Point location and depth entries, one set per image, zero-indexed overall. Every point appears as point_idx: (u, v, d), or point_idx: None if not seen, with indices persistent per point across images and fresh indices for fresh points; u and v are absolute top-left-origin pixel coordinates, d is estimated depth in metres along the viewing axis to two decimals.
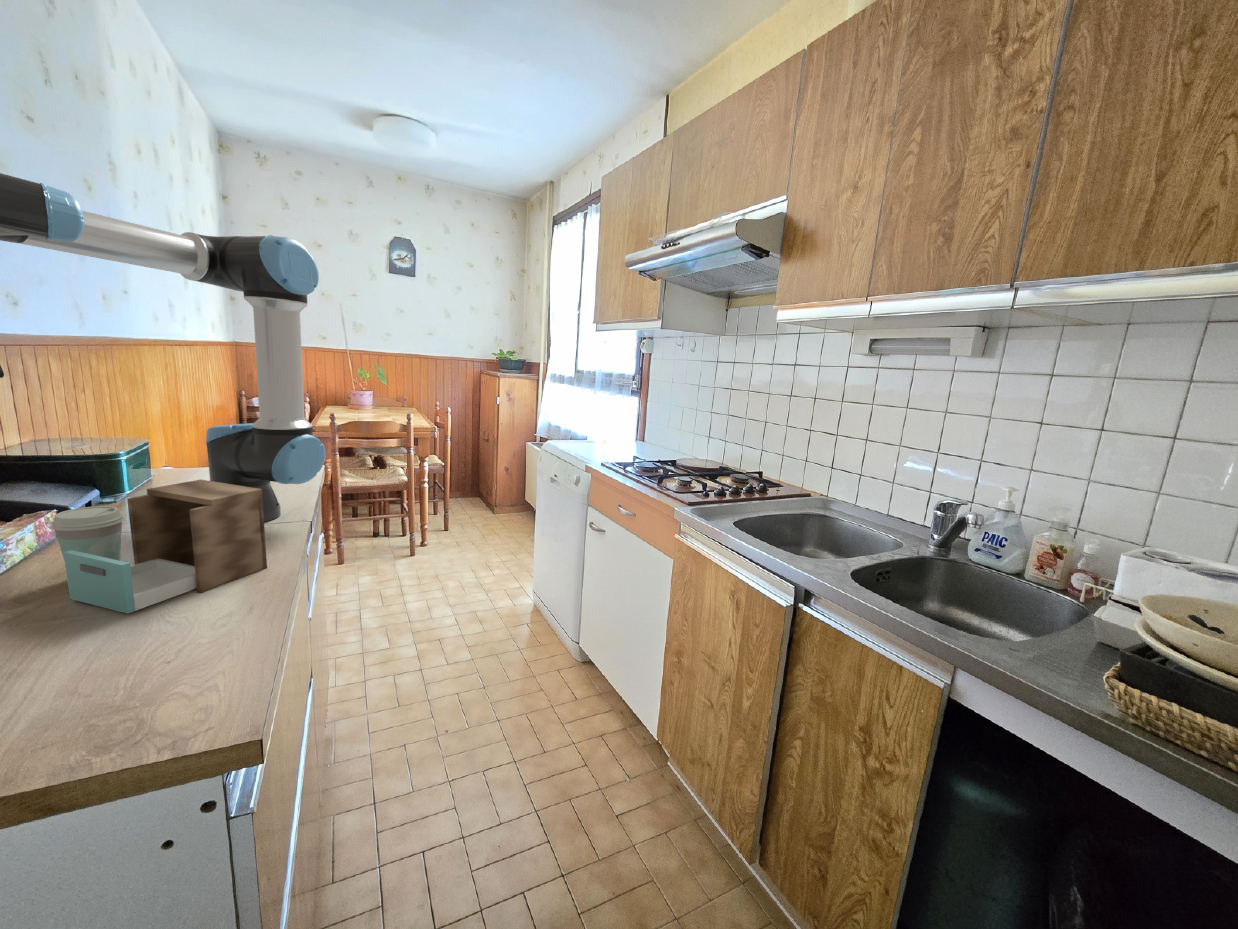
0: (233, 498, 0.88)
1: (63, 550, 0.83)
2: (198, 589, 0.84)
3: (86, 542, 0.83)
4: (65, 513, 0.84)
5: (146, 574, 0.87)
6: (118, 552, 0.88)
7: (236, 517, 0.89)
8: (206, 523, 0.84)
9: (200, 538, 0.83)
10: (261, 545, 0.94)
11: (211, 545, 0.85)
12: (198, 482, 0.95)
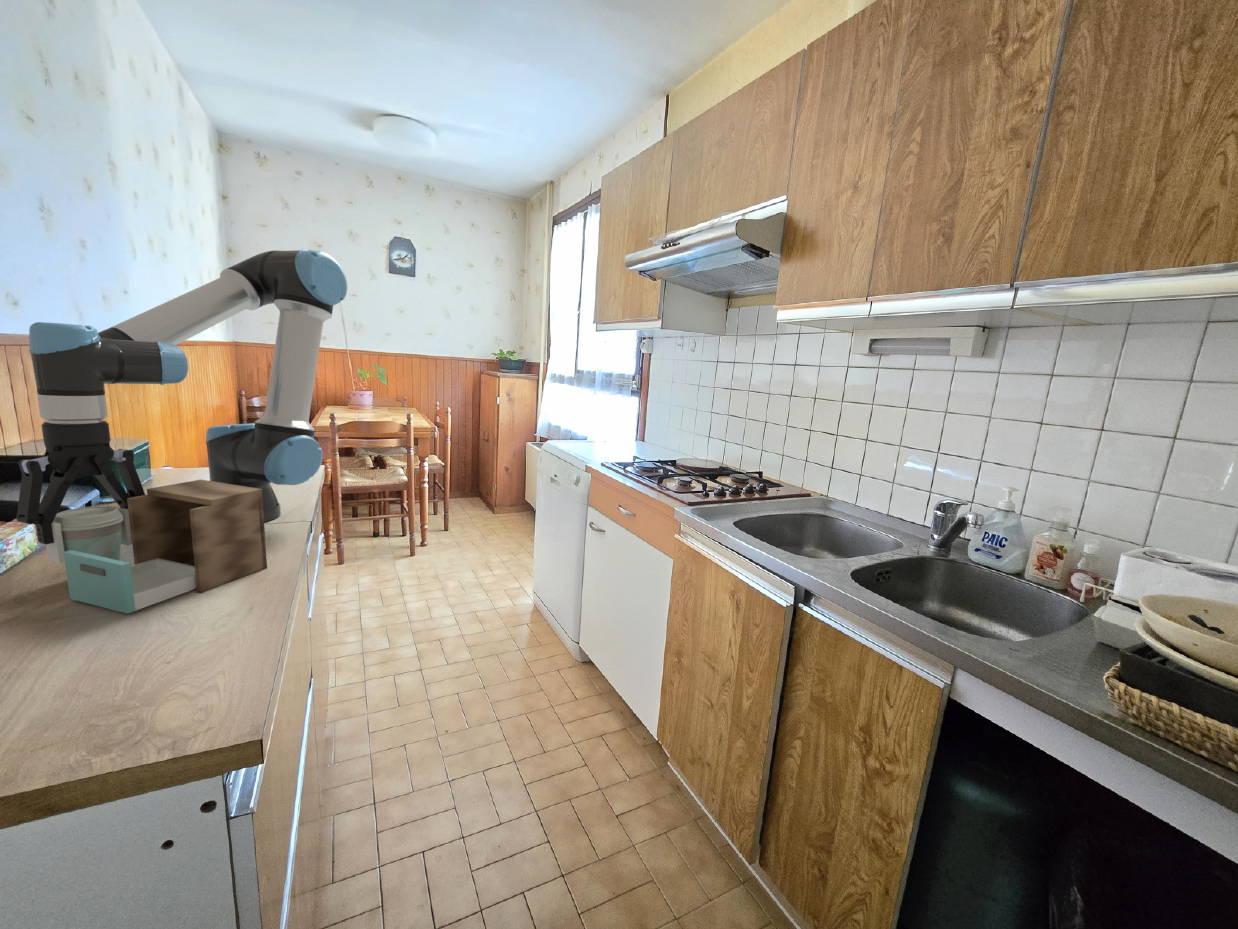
0: (233, 498, 0.88)
1: None
2: (198, 589, 0.84)
3: (86, 542, 0.83)
4: (65, 513, 0.84)
5: (146, 574, 0.87)
6: (118, 552, 0.88)
7: (236, 517, 0.89)
8: (206, 523, 0.84)
9: (200, 538, 0.83)
10: (261, 545, 0.94)
11: (211, 545, 0.85)
12: (198, 482, 0.95)
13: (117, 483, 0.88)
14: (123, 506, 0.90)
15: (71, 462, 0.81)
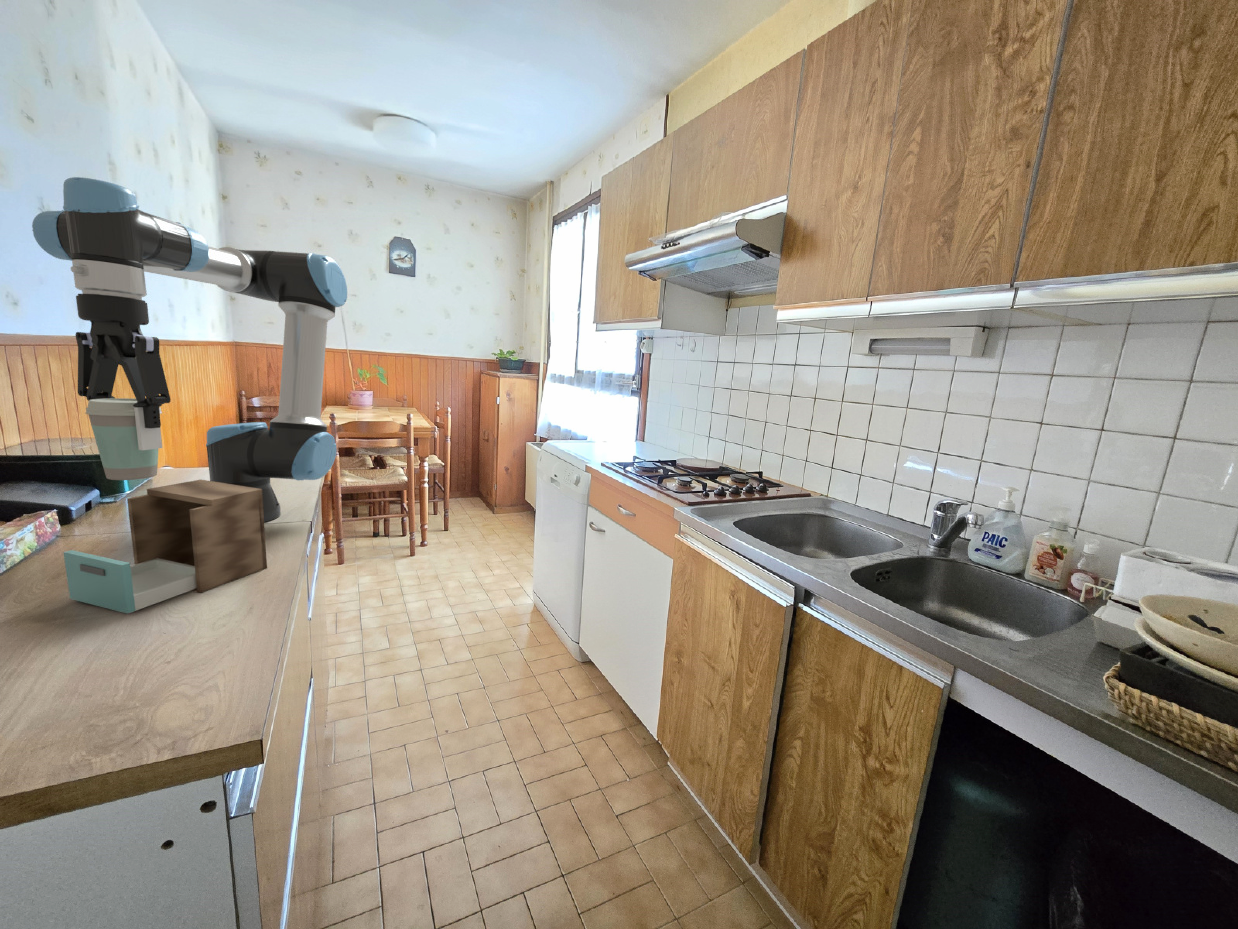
0: (233, 498, 0.88)
1: None
2: (198, 589, 0.84)
3: None
4: None
5: (146, 574, 0.87)
6: None
7: (236, 517, 0.89)
8: (206, 523, 0.84)
9: (200, 538, 0.83)
10: (261, 545, 0.94)
11: (211, 545, 0.85)
12: (198, 482, 0.95)
13: None
14: None
15: None
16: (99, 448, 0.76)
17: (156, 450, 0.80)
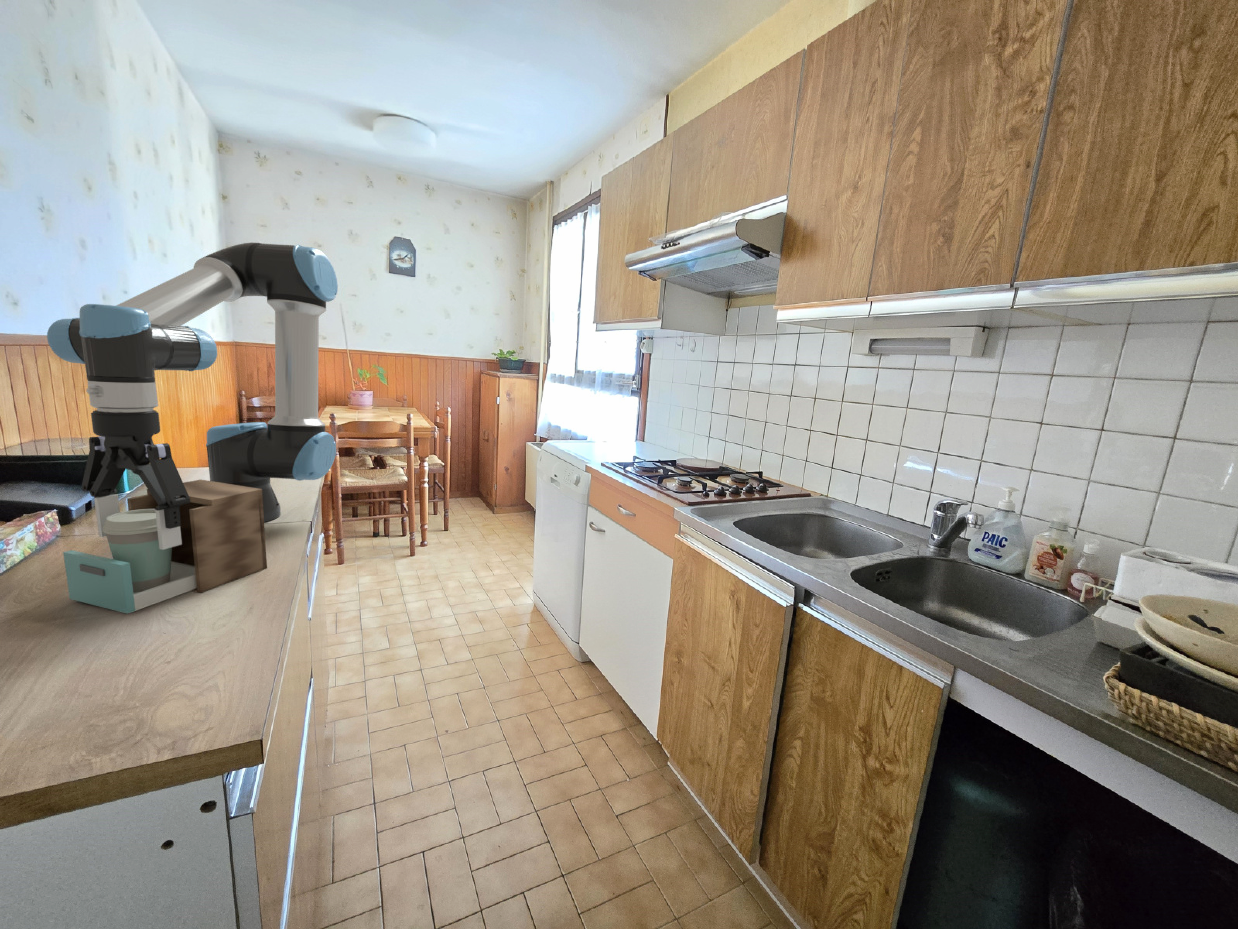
0: (233, 498, 0.88)
1: (157, 552, 0.81)
2: (198, 589, 0.84)
3: None
4: None
5: None
6: None
7: (236, 517, 0.89)
8: (206, 523, 0.84)
9: (200, 538, 0.83)
10: (261, 545, 0.94)
11: (211, 545, 0.85)
12: (198, 482, 0.95)
13: None
14: (105, 494, 0.82)
15: None
16: None
17: (169, 559, 0.83)
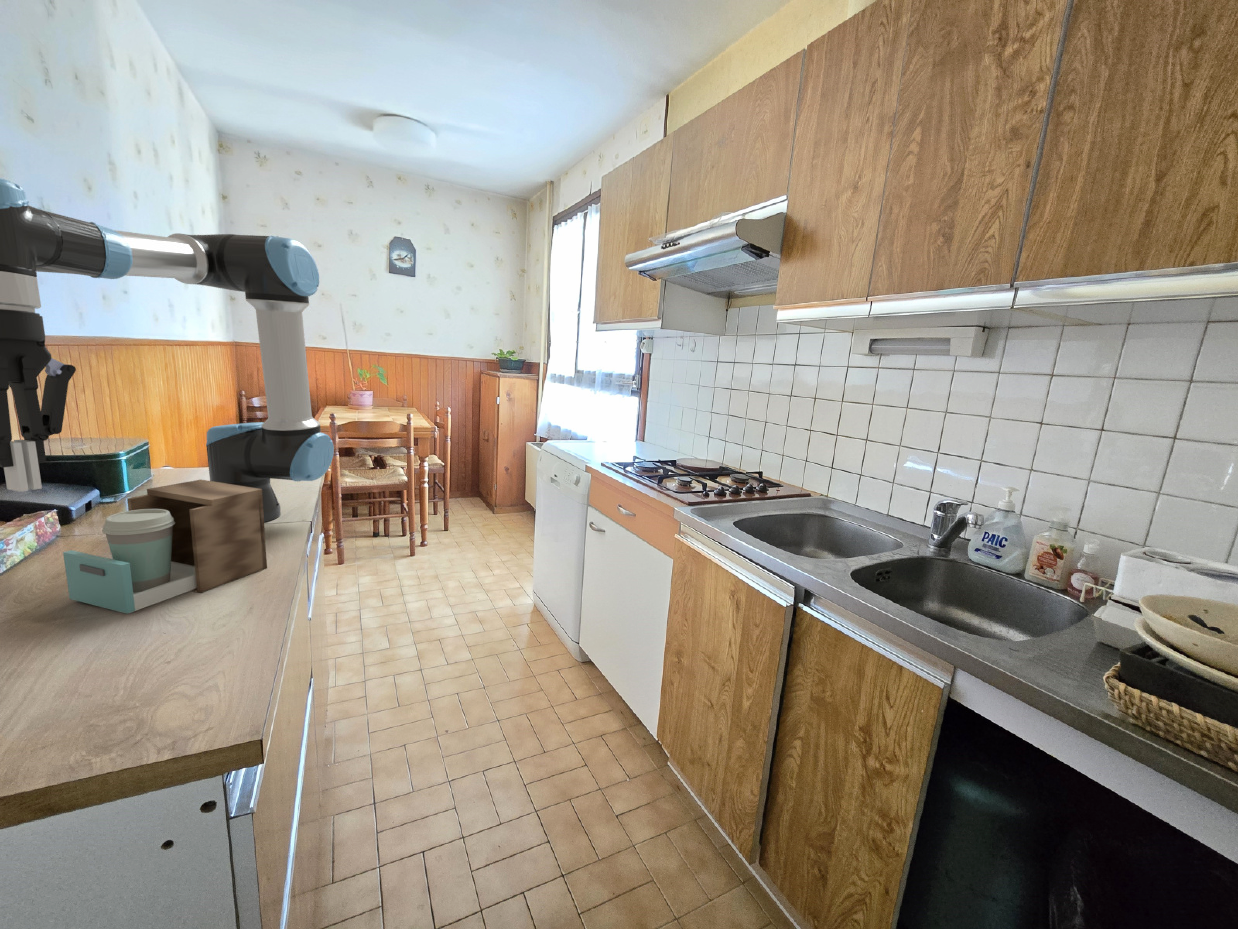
0: (233, 498, 0.88)
1: (157, 552, 0.81)
2: (198, 589, 0.84)
3: None
4: None
5: None
6: None
7: (236, 517, 0.89)
8: (206, 523, 0.84)
9: (200, 538, 0.83)
10: (261, 545, 0.94)
11: (211, 545, 0.85)
12: (198, 482, 0.95)
13: (35, 401, 0.67)
14: (27, 435, 0.67)
15: None
16: None
17: (169, 559, 0.83)
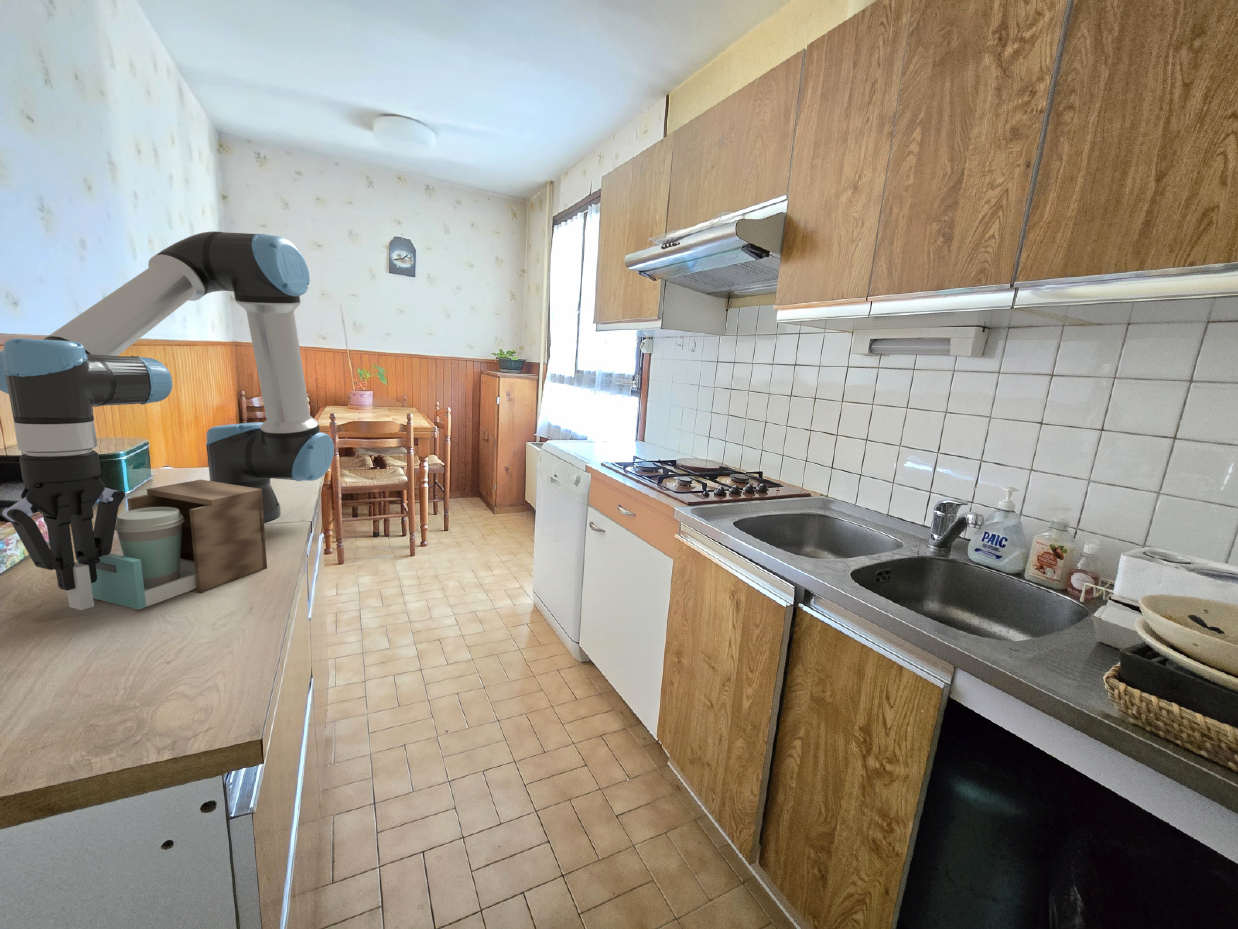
0: (233, 498, 0.88)
1: (167, 549, 0.82)
2: (198, 589, 0.84)
3: (181, 534, 0.85)
4: (138, 519, 0.79)
5: None
6: None
7: (236, 517, 0.89)
8: (206, 523, 0.84)
9: (200, 538, 0.83)
10: (261, 545, 0.94)
11: (211, 545, 0.85)
12: (198, 482, 0.95)
13: (90, 529, 0.74)
14: (81, 560, 0.75)
15: (55, 502, 0.70)
16: None
17: (179, 556, 0.85)
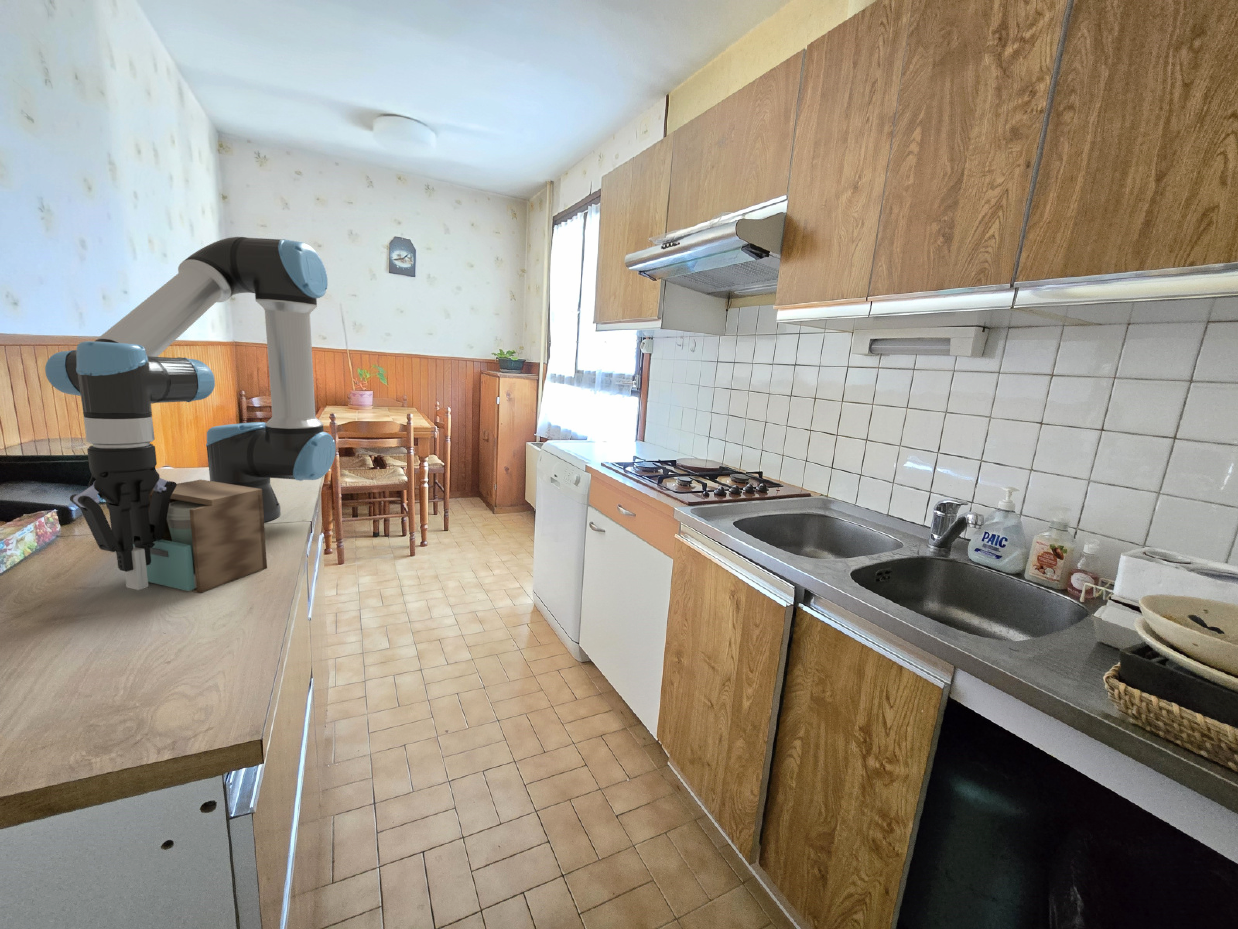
0: (233, 498, 0.88)
1: None
2: (198, 589, 0.84)
3: None
4: (186, 508, 0.86)
5: None
6: None
7: (236, 517, 0.89)
8: (206, 523, 0.84)
9: (200, 538, 0.83)
10: (261, 545, 0.94)
11: (211, 545, 0.85)
12: (198, 482, 0.95)
13: (146, 516, 0.81)
14: (137, 544, 0.81)
15: (118, 490, 0.77)
16: None
17: None
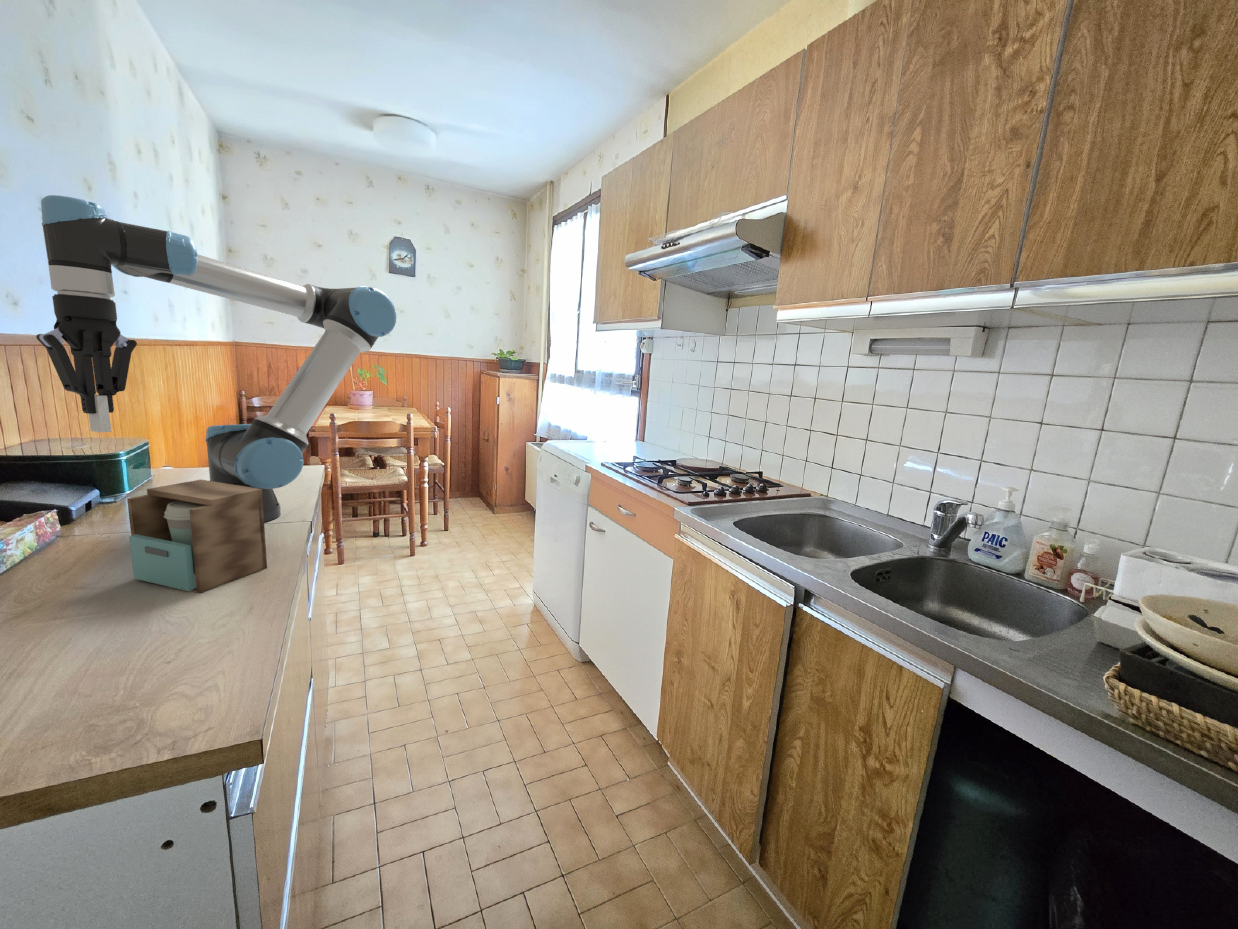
0: (233, 498, 0.88)
1: None
2: (198, 589, 0.84)
3: None
4: (186, 508, 0.86)
5: None
6: None
7: (236, 517, 0.89)
8: (206, 523, 0.84)
9: (200, 538, 0.83)
10: (261, 545, 0.94)
11: (211, 545, 0.85)
12: (198, 482, 0.95)
13: (108, 366, 0.90)
14: (101, 391, 0.90)
15: (81, 336, 0.86)
16: None
17: None
